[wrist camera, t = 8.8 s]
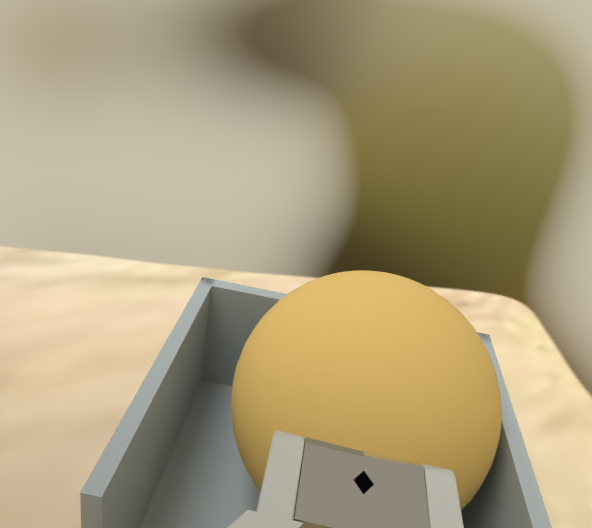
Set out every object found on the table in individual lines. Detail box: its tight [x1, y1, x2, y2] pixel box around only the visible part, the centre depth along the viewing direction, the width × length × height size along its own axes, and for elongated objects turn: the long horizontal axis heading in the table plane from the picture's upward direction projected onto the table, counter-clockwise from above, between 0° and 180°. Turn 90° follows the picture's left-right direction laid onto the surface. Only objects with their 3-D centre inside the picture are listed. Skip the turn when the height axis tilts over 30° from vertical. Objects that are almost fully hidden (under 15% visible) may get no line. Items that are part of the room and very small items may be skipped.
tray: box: [81, 277, 551, 528], centre depth 22 cm, size 14×13×6 cm
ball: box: [231, 271, 502, 510], centre depth 22 cm, size 10×10×10 cm
